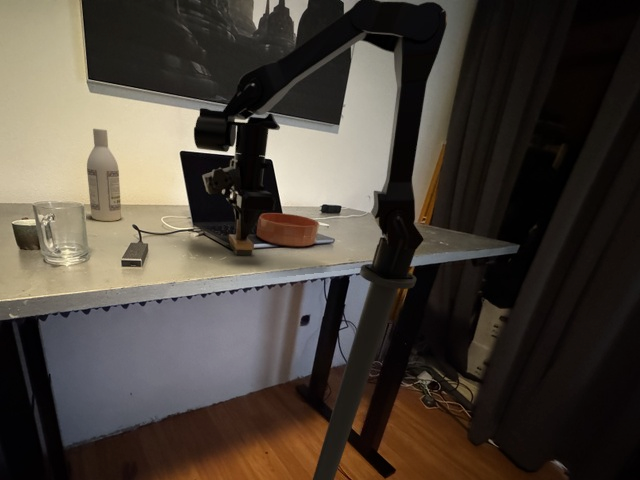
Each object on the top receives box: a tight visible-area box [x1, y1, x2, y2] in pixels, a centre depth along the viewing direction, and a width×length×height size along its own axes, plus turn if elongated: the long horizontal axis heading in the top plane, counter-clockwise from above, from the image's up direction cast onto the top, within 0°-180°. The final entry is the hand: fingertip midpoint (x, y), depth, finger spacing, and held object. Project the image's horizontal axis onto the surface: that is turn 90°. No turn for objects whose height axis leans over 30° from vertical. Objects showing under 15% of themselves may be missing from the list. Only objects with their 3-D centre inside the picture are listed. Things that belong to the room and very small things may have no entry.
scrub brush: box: [228, 219, 255, 257], centre depth 67 cm, size 7×4×6 cm, turn 14°
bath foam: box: [86, 128, 122, 222], centre depth 77 cm, size 7×7×20 cm
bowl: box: [255, 212, 320, 248], centre depth 79 cm, size 15×15×5 cm
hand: (241, 237), depth 67 cm, fingers closed on scrub brush, 2 cm apart
